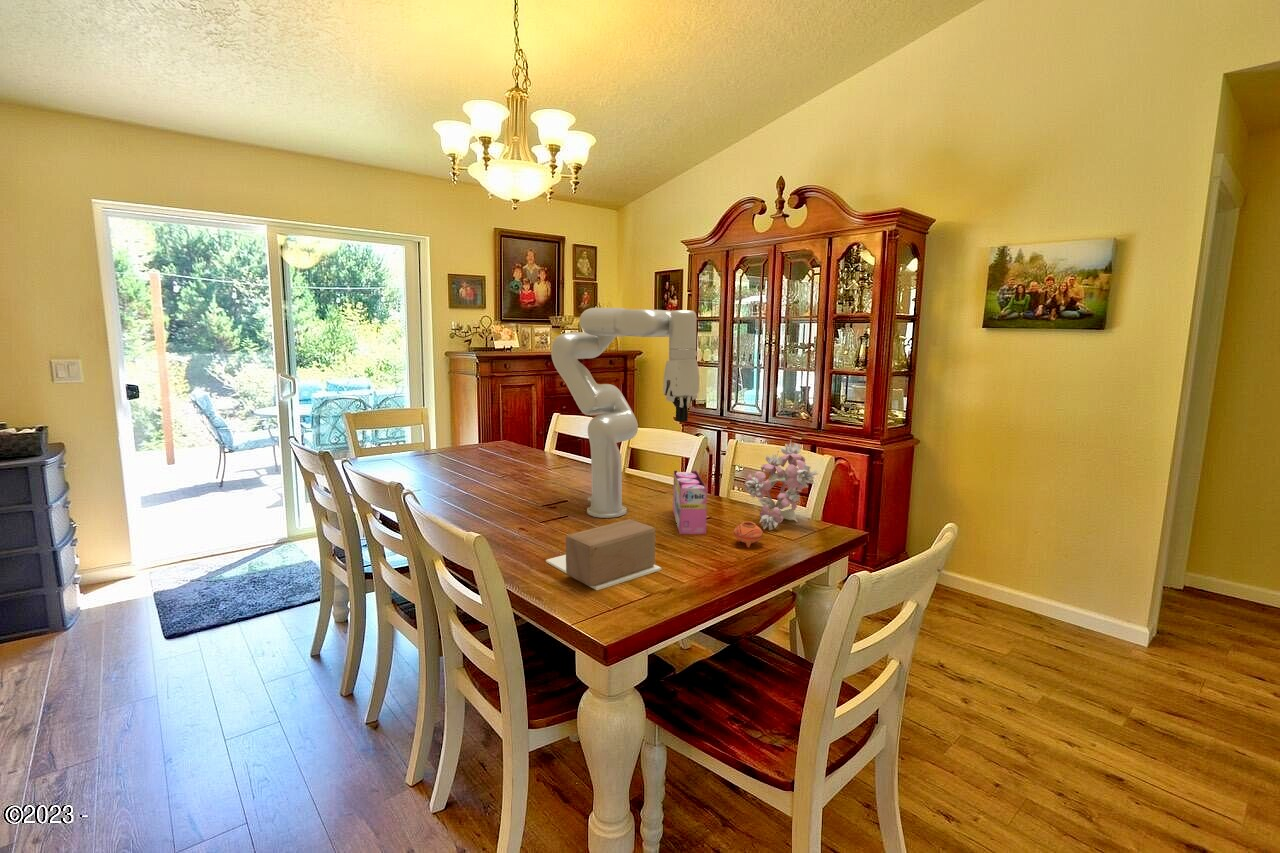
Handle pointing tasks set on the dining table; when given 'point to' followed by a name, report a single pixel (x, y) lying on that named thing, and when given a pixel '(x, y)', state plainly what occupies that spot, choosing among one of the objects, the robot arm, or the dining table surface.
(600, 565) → the wooden block
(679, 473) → the gum box
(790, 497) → the flower
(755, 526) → the pot
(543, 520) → the dining table surface
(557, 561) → the pale grey mat
